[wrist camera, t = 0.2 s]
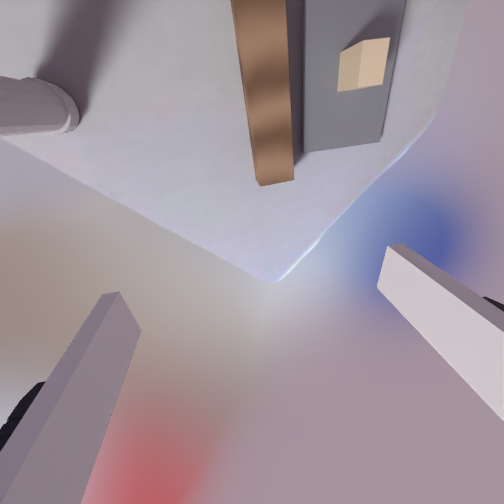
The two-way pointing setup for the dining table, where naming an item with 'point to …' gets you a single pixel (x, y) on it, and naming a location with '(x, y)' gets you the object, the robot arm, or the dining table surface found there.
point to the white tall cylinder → (35, 108)
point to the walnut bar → (266, 85)
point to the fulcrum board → (323, 71)
